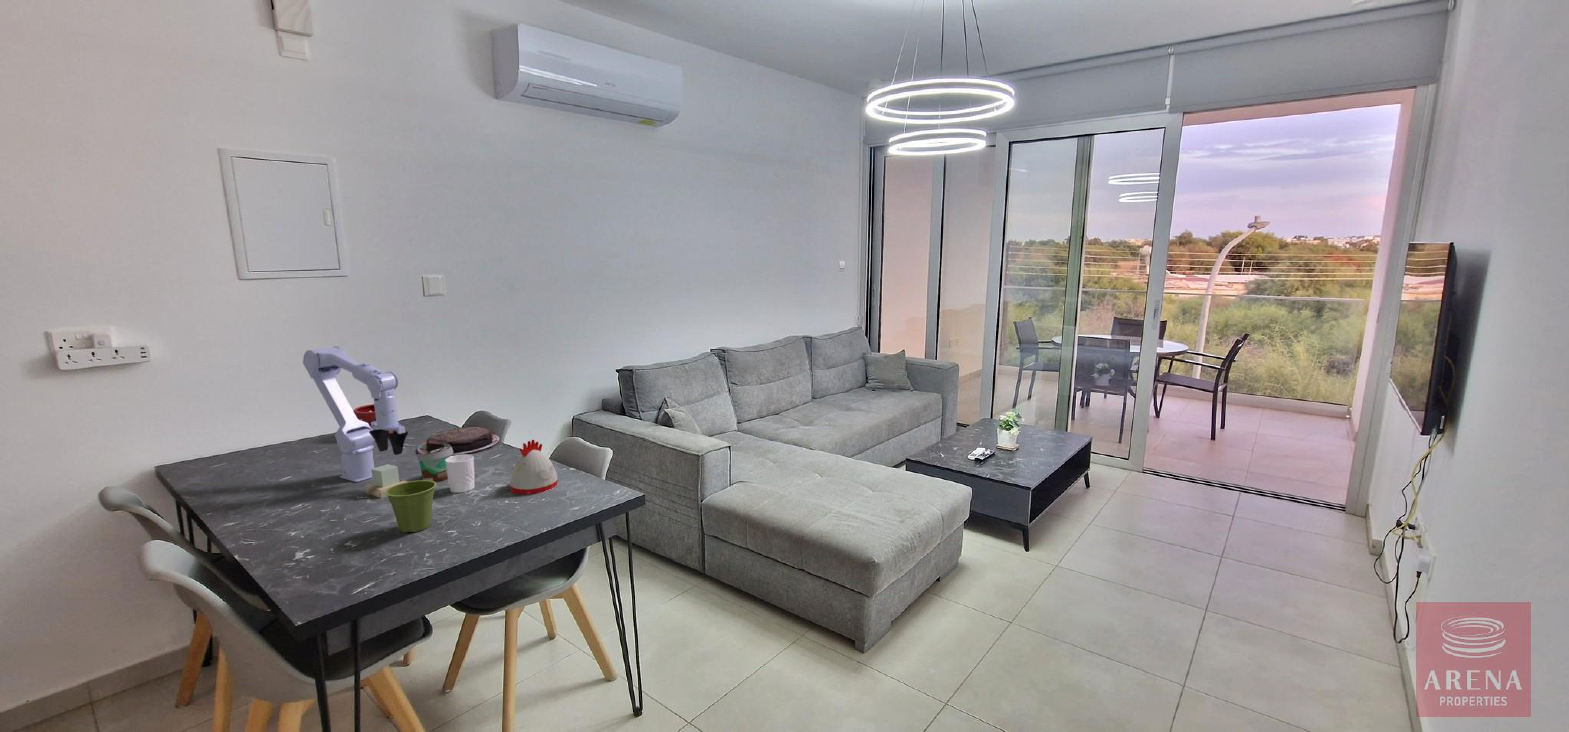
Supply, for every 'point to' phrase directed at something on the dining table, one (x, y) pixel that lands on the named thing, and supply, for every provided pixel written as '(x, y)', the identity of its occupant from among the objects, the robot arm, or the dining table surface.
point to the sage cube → (385, 475)
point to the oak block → (379, 489)
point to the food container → (435, 463)
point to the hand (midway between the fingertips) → (390, 452)
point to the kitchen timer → (532, 471)
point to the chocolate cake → (461, 440)
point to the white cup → (460, 472)
